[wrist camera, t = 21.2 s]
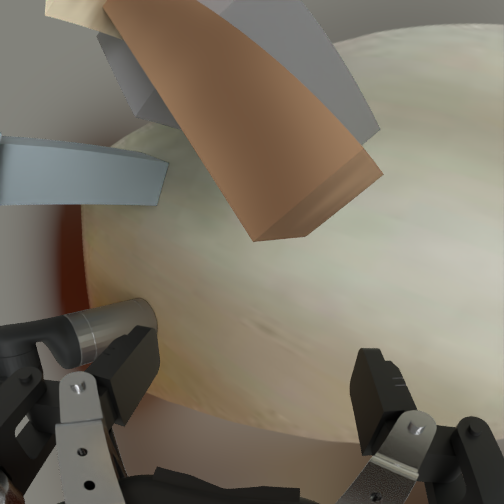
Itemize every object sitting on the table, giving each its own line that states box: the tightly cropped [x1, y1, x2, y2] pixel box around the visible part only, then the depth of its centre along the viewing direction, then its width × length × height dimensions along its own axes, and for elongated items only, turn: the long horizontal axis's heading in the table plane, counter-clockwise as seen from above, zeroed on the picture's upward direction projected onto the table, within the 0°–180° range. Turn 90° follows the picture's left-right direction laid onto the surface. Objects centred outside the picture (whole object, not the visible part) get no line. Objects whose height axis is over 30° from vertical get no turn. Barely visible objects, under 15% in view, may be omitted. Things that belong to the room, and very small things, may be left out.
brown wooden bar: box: [45, 0, 384, 242], centre depth 8 cm, size 6×22×6 cm, turn 38°
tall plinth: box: [0, 132, 169, 206], centre depth 39 cm, size 11×12×32 cm
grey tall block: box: [97, 0, 380, 145], centre depth 23 cm, size 12×10×27 cm
